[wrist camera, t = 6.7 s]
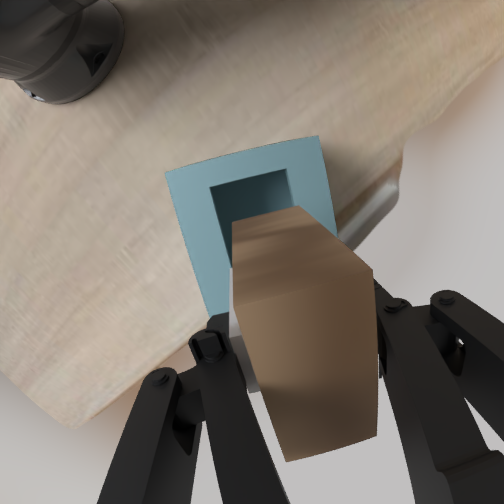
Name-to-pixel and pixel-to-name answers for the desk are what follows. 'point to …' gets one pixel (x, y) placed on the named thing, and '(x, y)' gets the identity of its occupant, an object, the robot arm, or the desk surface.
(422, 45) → the desk surface
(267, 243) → the block
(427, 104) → the desk surface
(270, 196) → the coin box
